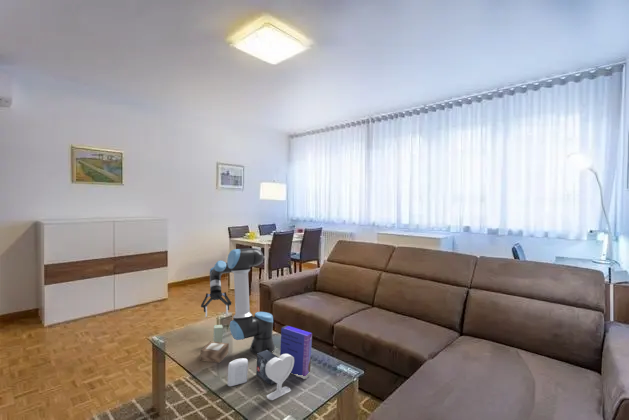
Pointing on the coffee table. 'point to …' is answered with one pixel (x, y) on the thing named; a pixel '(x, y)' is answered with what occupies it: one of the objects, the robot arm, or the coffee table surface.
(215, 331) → the sage block
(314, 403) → the coffee table surface
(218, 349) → the walnut riser block
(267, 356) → the small box
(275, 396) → the heart sculpture
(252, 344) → the robot arm
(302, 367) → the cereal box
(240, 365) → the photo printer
